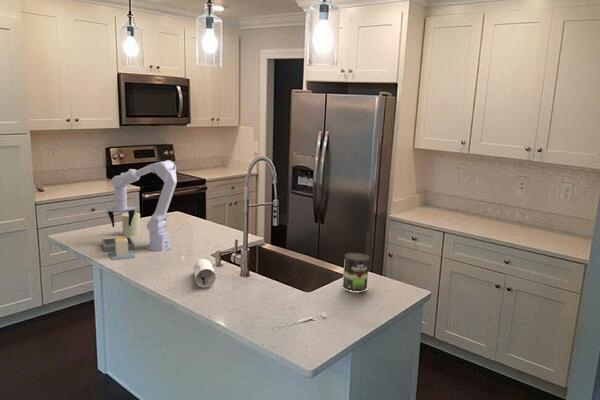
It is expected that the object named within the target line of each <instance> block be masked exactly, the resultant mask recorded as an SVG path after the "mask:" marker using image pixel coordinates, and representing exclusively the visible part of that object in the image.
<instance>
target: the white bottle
mask: <svg viewBox="0 0 600 400" xmlns="http://www.w3.org/2000/svg"><path fill="white" fill-rule="evenodd" d="M193 266H194V267H193V274H194V280H195V283H196V285H198V287H201V288H208V287H211V286H213V285H214V284H215V282H216V273H215V270H214V268H213V264H212V263H211V261H210V260H208V259H205V258H199V259H197V260H196V261H195V264H194V265H193Z"/></svg>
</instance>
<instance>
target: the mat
mask: <svg viewBox="0 0 600 400" xmlns="http://www.w3.org/2000/svg"><path fill="white" fill-rule="evenodd" d="M108 253H109V256H110V259H111V261H117V262H118V261H119V260H129V259H135V258H136V256H135V254H134V252H133V250H128V255H126V256H116V253H115V251H113V252H108Z"/></svg>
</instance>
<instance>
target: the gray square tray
mask: <svg viewBox="0 0 600 400" xmlns="http://www.w3.org/2000/svg"><path fill="white" fill-rule="evenodd" d="M117 238H118V237H113V238H111V237H110V238H102V239H101V246H102V249H103V251H104V253H109V252H115V239H117ZM122 238H127V240H128V250H132V251H133V250H136V247H135V245H136V244H135V243H134V241H133V239H132V238H131V237H127V236H124V237H122Z"/></svg>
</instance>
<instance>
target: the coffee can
mask: <svg viewBox="0 0 600 400" xmlns="http://www.w3.org/2000/svg"><path fill="white" fill-rule="evenodd" d="M343 263H344V264H343V276H342V286H343V287H344V288H345V289H348V290H352V291H363V290H365V289H366V288H367V287H368V278H369V277H368V275H369V268H370V267H369V266H370V256H369V255H367V254H365V253H361V252H347V253H345V254H344V262H343Z"/></svg>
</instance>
